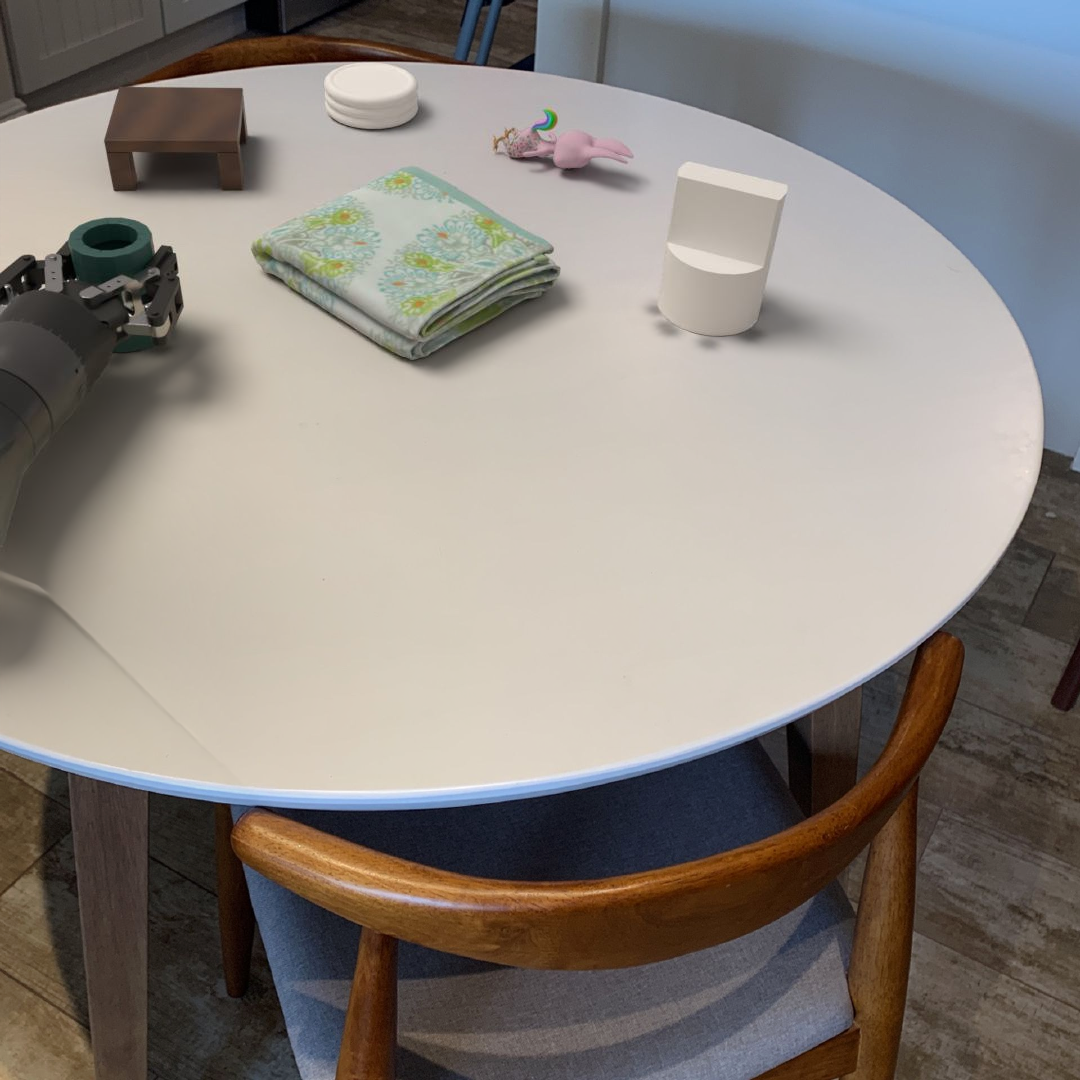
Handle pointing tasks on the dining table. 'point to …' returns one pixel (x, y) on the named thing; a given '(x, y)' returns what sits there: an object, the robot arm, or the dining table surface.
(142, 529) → the dining table surface
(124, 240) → the jar
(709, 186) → the base with upright slab
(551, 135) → the rabbit figure
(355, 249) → the towel
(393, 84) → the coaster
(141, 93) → the stand
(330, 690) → the dining table surface
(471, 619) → the dining table surface
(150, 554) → the dining table surface
